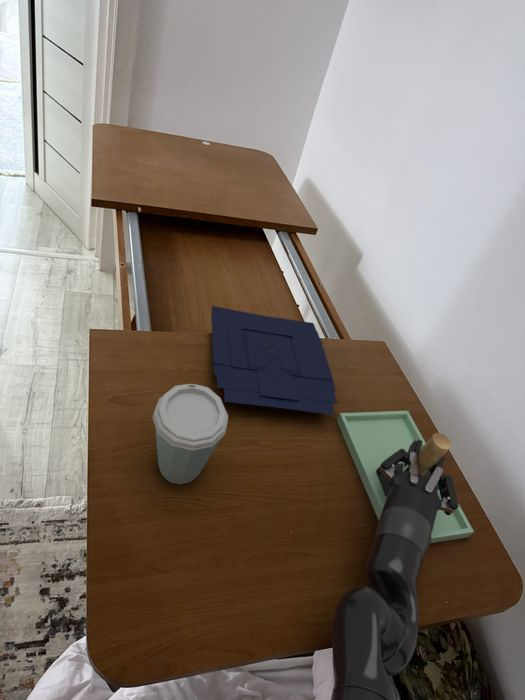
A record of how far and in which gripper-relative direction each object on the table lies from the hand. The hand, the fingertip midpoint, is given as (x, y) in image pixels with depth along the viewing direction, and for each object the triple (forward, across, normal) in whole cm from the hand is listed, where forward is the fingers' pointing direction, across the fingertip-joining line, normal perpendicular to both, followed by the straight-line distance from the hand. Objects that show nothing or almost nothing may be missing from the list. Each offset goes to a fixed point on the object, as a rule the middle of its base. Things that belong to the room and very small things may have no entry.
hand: (428, 448), depth 87 cm
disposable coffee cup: (-24, -34, -8) cm, 43 cm away
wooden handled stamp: (-3, 0, -7) cm, 8 cm away
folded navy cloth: (+7, -33, -8) cm, 35 cm away
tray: (-2, -2, -8) cm, 8 cm away
